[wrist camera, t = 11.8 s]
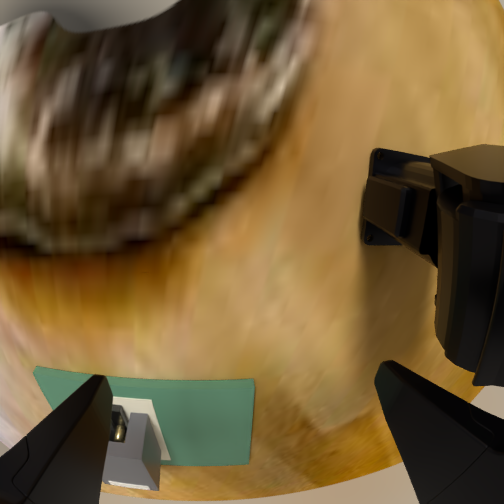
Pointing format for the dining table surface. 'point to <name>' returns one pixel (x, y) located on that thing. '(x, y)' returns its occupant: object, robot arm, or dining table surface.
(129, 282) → the dining table surface
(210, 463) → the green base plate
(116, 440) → the header pins
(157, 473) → the block
